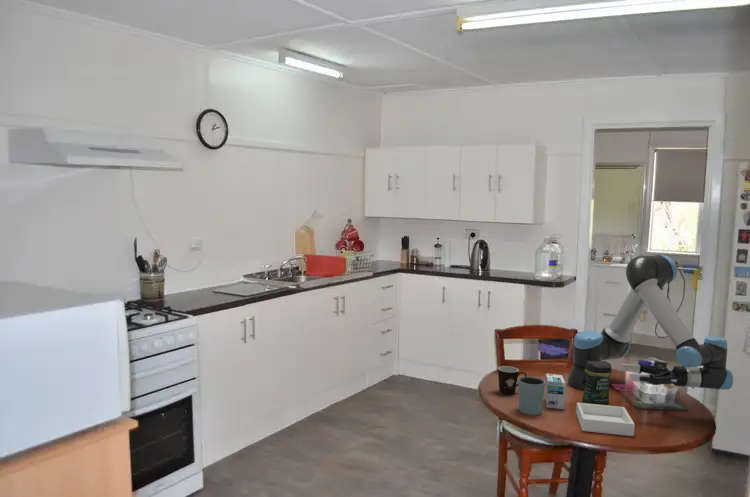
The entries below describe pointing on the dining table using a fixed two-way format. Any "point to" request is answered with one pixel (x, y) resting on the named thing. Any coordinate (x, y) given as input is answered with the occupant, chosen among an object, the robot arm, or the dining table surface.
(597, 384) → the coffee jar
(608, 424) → the tray
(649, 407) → the dining table surface
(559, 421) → the dining table surface
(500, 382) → the coffee mug
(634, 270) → the robot arm
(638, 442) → the dining table surface
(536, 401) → the blue-grey cup
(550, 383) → the light bulb box
